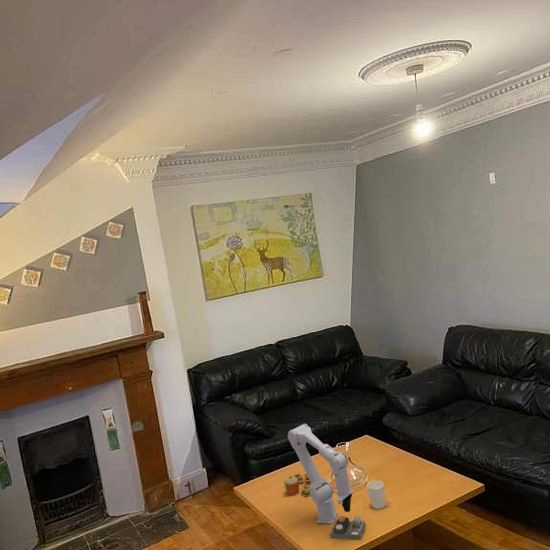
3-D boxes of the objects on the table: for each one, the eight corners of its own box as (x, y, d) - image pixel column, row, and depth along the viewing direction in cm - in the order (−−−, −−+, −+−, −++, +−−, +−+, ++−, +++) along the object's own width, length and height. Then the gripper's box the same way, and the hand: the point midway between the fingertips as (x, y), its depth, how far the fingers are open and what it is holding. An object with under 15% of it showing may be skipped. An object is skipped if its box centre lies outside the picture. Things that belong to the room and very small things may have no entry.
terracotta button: (340, 520, 237) (339, 515, 237) (346, 520, 236) (345, 516, 236) (338, 523, 234) (337, 519, 234) (344, 524, 233) (344, 519, 233)
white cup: (367, 504, 251) (363, 484, 250) (380, 498, 254) (377, 479, 254) (376, 511, 244) (373, 490, 243) (390, 505, 247) (387, 484, 246)
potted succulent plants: (314, 497, 268) (310, 479, 267) (284, 499, 272) (281, 481, 271) (320, 473, 293) (317, 456, 293) (293, 475, 297) (290, 458, 296)
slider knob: (355, 522, 234) (354, 516, 234) (362, 522, 233) (360, 516, 233) (353, 526, 231) (352, 520, 231) (360, 526, 230) (359, 520, 230)
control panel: (336, 524, 239) (335, 516, 239) (366, 526, 234) (364, 517, 234) (330, 538, 230) (329, 529, 230) (361, 539, 225) (359, 531, 224)
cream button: (337, 528, 232) (336, 524, 232) (344, 528, 231) (343, 524, 231) (335, 532, 230) (334, 528, 229) (342, 532, 228) (341, 528, 228)
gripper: (346, 490, 224) (352, 520, 225) (355, 473, 237) (360, 502, 238) (330, 489, 227) (336, 519, 228) (340, 473, 240) (345, 502, 241)
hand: (347, 511), depth 233 cm, fingers closed
